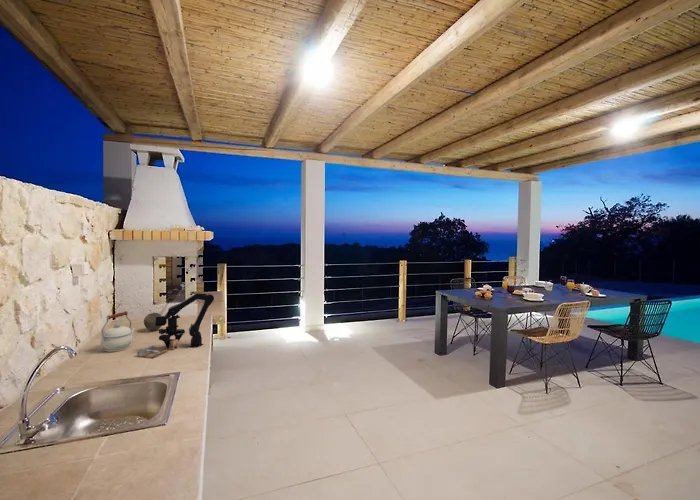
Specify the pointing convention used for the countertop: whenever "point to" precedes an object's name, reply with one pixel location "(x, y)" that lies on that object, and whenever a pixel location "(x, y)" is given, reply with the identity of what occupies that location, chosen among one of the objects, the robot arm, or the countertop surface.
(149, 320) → the cantaloupe
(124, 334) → the kettle
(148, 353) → the board
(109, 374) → the countertop surface
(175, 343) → the tan cube
